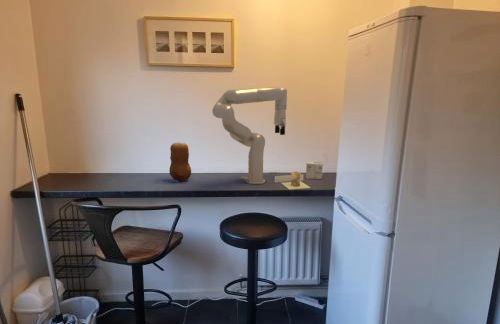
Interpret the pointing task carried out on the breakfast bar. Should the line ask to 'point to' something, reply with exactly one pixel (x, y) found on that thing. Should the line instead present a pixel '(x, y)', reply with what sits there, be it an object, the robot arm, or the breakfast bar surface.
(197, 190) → the breakfast bar surface
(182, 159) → the butternut squash
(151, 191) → the breakfast bar surface
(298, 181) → the birch cylinder
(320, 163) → the light bulb box
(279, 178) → the cream plank
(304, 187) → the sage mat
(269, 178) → the breakfast bar surface
